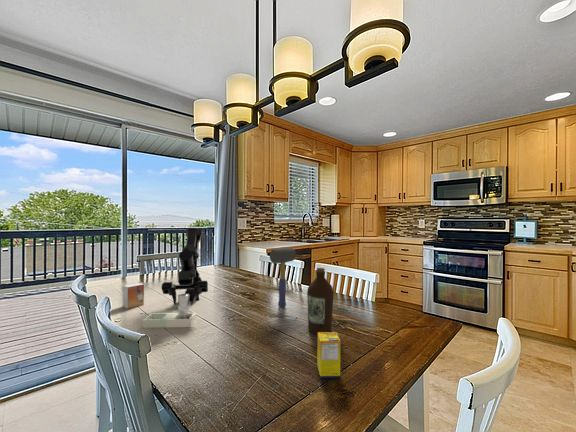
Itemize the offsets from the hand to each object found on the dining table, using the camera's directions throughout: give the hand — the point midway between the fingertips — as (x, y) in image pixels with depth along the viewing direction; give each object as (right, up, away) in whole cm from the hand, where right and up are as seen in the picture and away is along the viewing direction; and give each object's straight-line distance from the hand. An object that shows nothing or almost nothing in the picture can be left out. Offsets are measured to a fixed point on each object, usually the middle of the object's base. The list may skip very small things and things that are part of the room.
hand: (183, 305), depth 114 cm
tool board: (-6, -8, +1) cm, 10 cm away
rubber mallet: (+41, -9, +22) cm, 47 cm away
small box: (-33, -8, +22) cm, 41 cm away
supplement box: (+56, -9, -33) cm, 66 cm away
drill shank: (0, -8, +1) cm, 8 cm away
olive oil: (+57, -9, -4) cm, 57 cm away
